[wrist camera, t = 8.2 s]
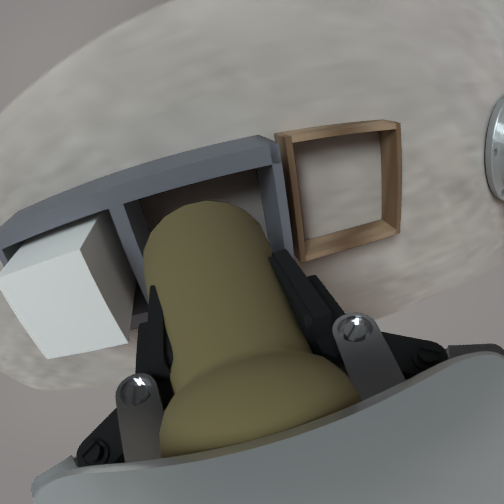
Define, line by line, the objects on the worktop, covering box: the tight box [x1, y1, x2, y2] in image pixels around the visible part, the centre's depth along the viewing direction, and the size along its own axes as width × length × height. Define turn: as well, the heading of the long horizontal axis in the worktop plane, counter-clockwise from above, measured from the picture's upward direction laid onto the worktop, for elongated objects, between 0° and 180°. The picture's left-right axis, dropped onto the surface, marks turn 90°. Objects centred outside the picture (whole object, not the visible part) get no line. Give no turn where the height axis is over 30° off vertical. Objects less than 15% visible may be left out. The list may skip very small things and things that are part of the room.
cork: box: [143, 201, 361, 458], centre depth 9 cm, size 6×6×11 cm
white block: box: [0, 209, 137, 359], centre depth 15 cm, size 6×6×7 cm
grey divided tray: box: [0, 135, 295, 330], centre depth 17 cm, size 17×9×4 cm, turn 100°
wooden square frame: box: [274, 120, 402, 263], centre depth 20 cm, size 8×8×2 cm
